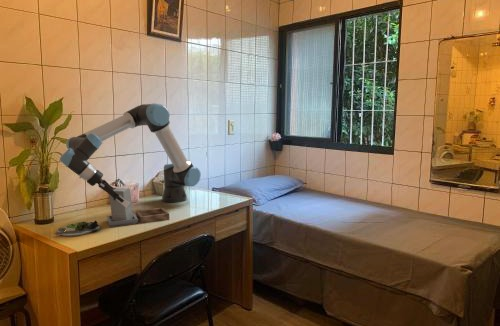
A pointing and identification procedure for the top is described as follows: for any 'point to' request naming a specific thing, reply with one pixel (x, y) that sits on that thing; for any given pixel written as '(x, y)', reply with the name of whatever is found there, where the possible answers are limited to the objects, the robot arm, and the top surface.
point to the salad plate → (79, 229)
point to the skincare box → (117, 208)
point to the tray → (122, 221)
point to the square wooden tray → (152, 215)
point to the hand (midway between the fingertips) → (126, 202)
